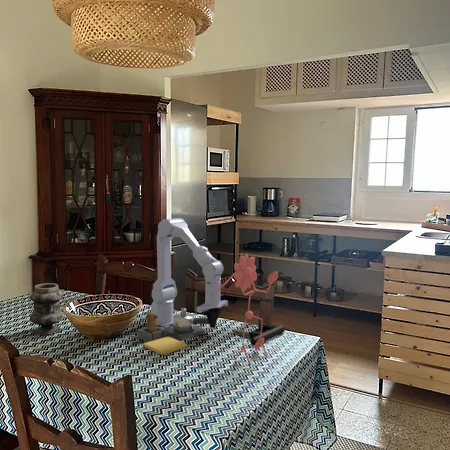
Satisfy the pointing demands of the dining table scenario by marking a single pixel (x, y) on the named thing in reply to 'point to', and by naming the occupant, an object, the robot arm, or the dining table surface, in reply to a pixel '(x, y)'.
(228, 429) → the dining table surface
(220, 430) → the dining table surface
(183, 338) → the chuck stand
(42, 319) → the apothecary jar
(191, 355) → the dining table surface
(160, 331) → the socket
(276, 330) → the door handle
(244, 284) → the pink stick man
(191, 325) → the lidded saucepan
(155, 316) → the brown upright block
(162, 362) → the dining table surface
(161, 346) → the mat
